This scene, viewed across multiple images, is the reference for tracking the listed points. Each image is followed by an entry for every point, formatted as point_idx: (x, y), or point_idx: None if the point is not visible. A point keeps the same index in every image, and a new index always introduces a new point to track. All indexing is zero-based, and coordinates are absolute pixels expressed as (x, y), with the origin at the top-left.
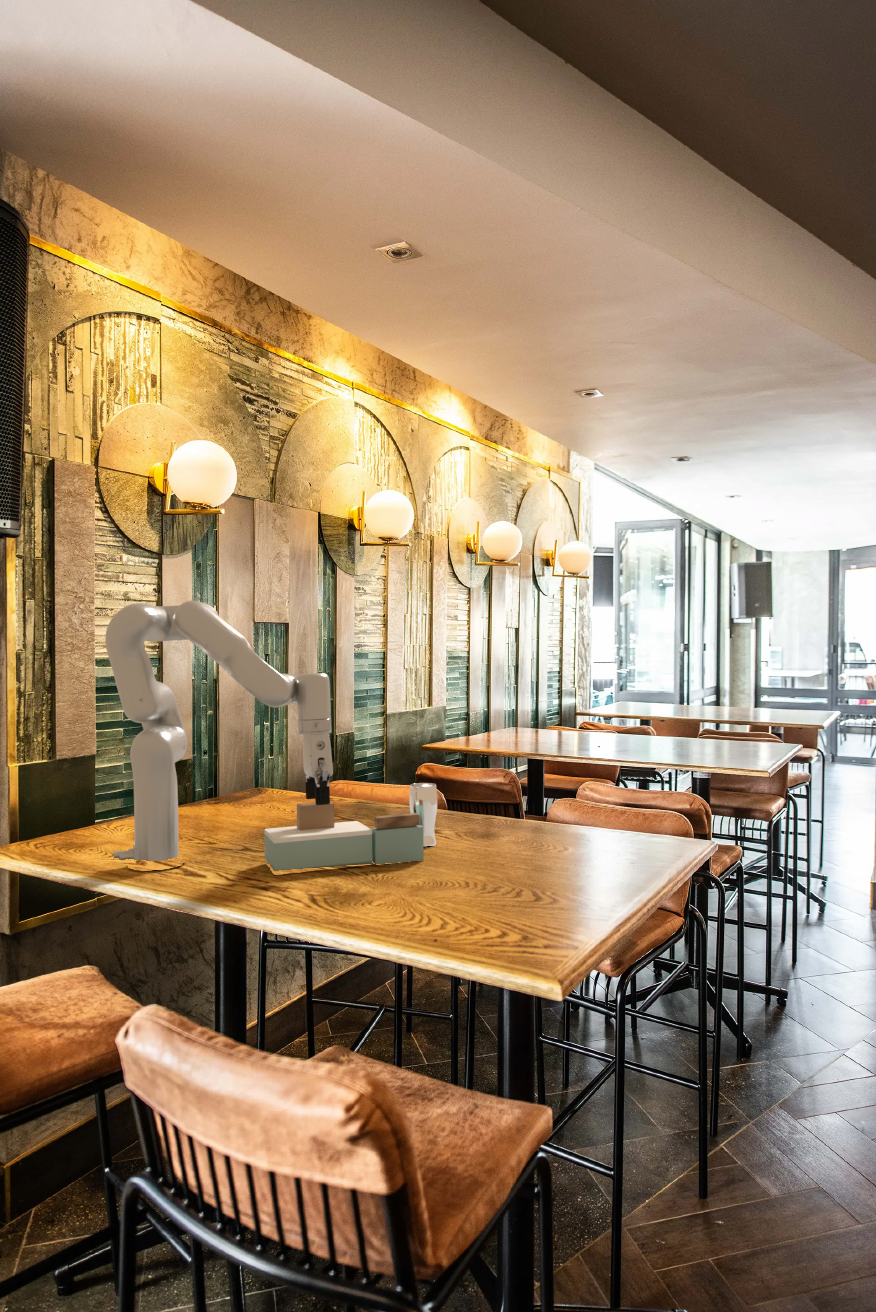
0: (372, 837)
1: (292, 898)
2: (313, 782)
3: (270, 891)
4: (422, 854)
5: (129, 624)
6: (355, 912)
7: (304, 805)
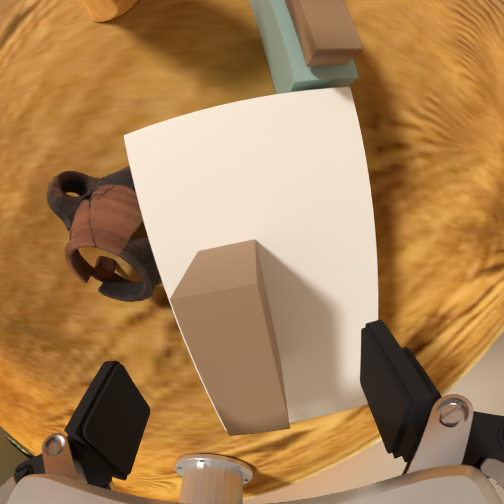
0: (310, 88)
1: (479, 299)
2: (105, 454)
3: (437, 336)
4: None
5: None
6: None
7: (278, 415)
